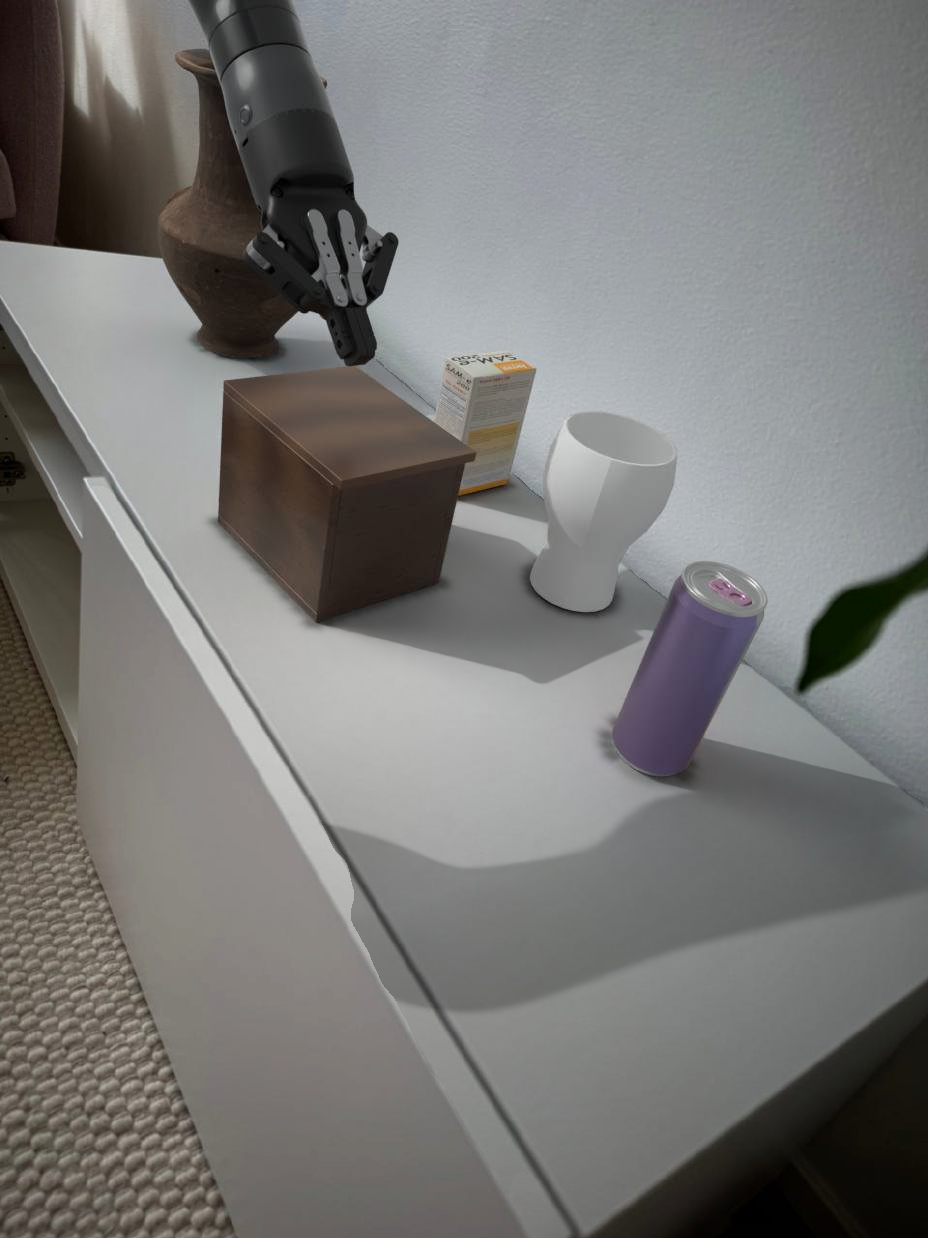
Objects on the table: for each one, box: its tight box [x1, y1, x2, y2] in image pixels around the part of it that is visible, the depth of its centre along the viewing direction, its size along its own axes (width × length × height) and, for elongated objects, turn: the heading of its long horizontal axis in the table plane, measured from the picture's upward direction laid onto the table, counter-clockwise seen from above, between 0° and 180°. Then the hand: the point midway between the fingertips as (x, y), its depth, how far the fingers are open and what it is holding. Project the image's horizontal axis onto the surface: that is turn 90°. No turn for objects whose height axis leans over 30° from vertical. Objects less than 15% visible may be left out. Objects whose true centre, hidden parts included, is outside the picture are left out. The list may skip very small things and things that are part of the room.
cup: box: [529, 410, 678, 613], centre depth 76 cm, size 11×11×15 cm
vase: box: [157, 48, 328, 359], centre depth 100 cm, size 19×19×30 cm
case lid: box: [222, 365, 476, 490], centre depth 69 cm, size 16×13×1 cm
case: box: [217, 390, 465, 623], centre depth 73 cm, size 16×13×12 cm
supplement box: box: [433, 350, 537, 497], centre depth 88 cm, size 8×5×13 cm, turn 130°
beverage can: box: [611, 560, 768, 778], centre depth 60 cm, size 6×6×15 cm
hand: (361, 361), depth 66 cm, fingers closed
